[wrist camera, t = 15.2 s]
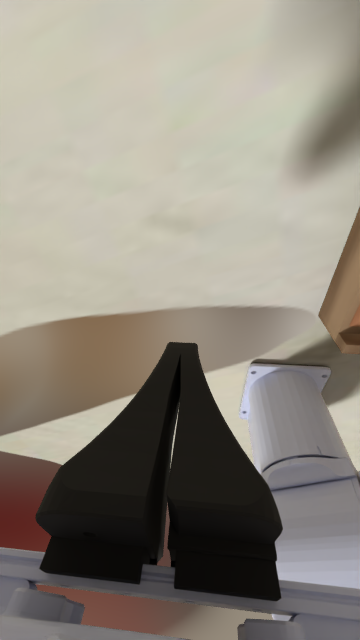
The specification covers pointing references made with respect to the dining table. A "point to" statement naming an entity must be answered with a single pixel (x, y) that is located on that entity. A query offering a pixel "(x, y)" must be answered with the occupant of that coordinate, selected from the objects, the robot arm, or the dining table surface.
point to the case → (345, 296)
